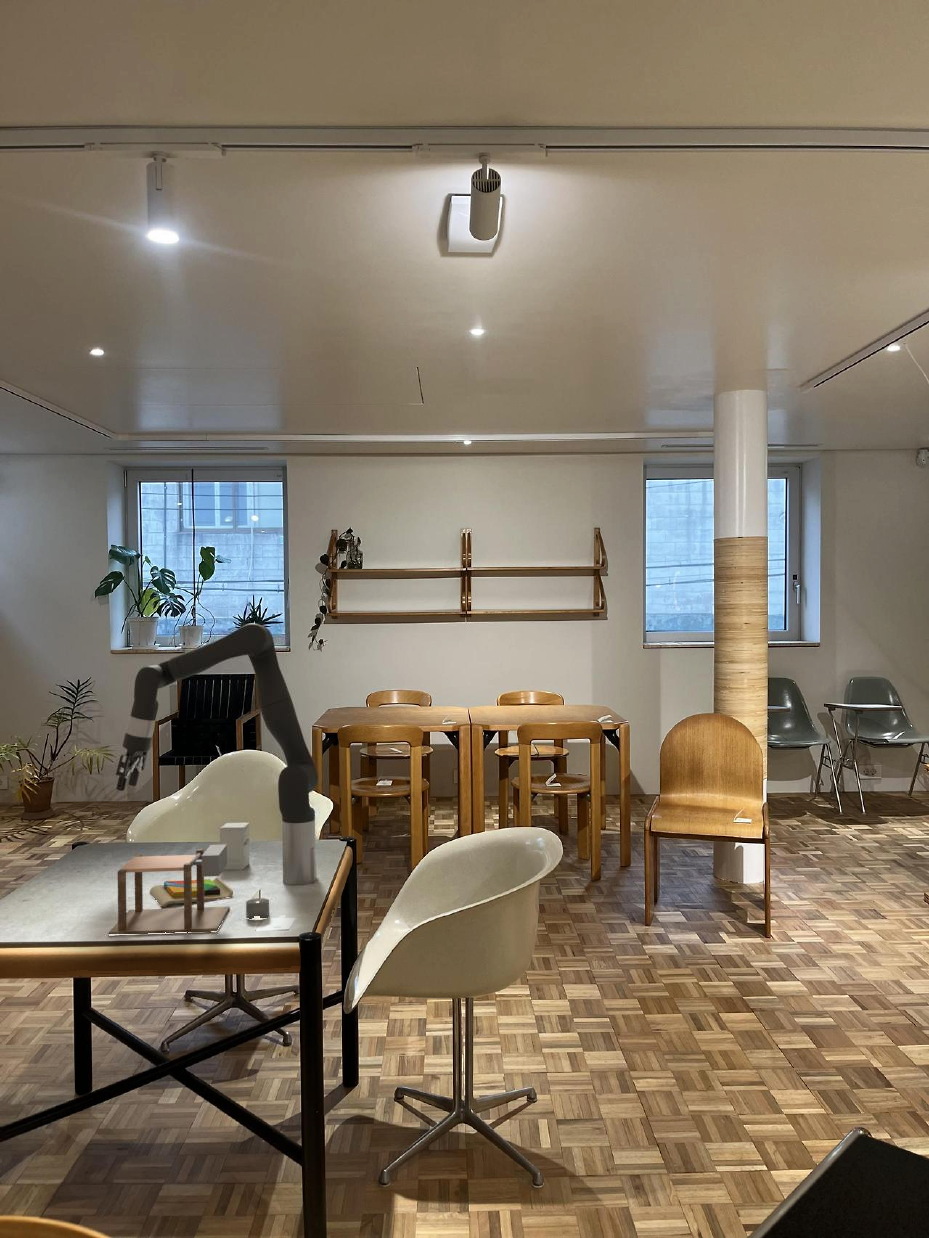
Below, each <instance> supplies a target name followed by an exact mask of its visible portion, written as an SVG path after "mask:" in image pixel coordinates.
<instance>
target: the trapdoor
mask: <svg viewBox="0 0 929 1238" xmlns="http://www.w3.org/2000/svg"><path fill="white" fill-rule="evenodd" d="M200 856H201V853H198V854H197V855H196V854H183V855H182V854H181V855H150V856H148V855H147V856H146V855H145V856H143V855H142V857H134V856H133V857H132V858H131V859H130V860H129V861H127V862H126V863H125V864H124V865H123V866H122V867H121V868H120V869H119V870H126V874H127V873H135V872H142V873H146V872H147V873H154V872H184V864H185V863H191V868H192V867H193V866H196V865H202V877H204V878H205V877H219V876H220V875H221V873H222V872H223V871H224V870H223V869H224V868H225V867H226V865H227V844H225V845H220V844H210V845H209V846H208V848H207V849H206V850H205V851H204V854H203V855H202V860H198V859H199V857H200Z"/></svg>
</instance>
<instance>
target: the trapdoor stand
mask: <svg viewBox="0 0 929 1238" xmlns="http://www.w3.org/2000/svg"><path fill="white" fill-rule="evenodd" d="M204 852H205V851H204V848H197V849H196V854H195V855H197V854H198V853H201V856H200V857H199V859H198V860H202V855H203V854H204ZM133 857H143V854H135V856H133ZM195 867H196V880H197V902H196V907H193V902H192V880H193V879H192V877H193V876H192V867H191V863H185V864H184V871H183V881H184V903H183V907H177V908H176V907H175V908H174V907H173V908H146V909H145V908H143V907H144V905H143V903H144V902H143V901H144V900H143V899H144V895H143V894H144V893H143V891H144V889H143V872H134V909H129V910H128V911H127V873H126V870H120V869H119V870H117V922H116V924H115V925H113V927H112V928H111V929H110V930H109V931H108V935H109V934H148V933H165V932H166V933H175V932H187V933H188V932H211V931H217V930H218V928H219V926H220V925H221V924H223V923H222V921H223V920H224V921H225V919H226V918H225V916H226V915H228V914H229V913H228V912H230V911H231V907H230V906H229V905H227V906H206V907H205V901H204V879H205V877H202V865H195ZM229 910H230V911H229ZM227 913H228V914H227ZM226 917H227V916H226ZM224 918H225V919H224ZM224 921H223V922H224ZM221 926H222V925H221ZM221 926H220V927H221ZM219 929H220V928H219ZM218 931H219V930H218Z"/></svg>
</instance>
